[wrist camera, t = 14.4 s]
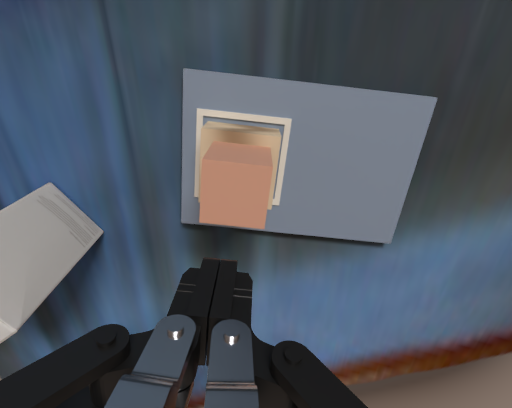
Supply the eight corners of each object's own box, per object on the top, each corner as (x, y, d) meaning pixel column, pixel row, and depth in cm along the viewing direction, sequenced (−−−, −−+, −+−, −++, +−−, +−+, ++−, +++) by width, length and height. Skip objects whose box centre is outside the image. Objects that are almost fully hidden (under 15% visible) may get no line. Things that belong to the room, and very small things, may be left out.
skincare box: (16, 209, 36) (-145, 302, 22) (54, 177, 34) (-94, 255, 20) (72, 259, 38) (-38, 372, 24) (109, 232, 37) (14, 335, 23)
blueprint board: (431, 96, 30) (438, 97, 29) (386, 238, 37) (391, 244, 35) (186, 68, 30) (182, 68, 28) (183, 218, 36) (180, 223, 35)
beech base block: (278, 128, 31) (281, 136, 27) (270, 194, 33) (271, 209, 30) (208, 121, 30) (201, 128, 27) (205, 187, 33) (198, 202, 30)
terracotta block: (270, 147, 27) (272, 166, 22) (263, 199, 29) (264, 229, 24) (213, 140, 27) (201, 158, 22) (210, 193, 29) (199, 222, 24)
